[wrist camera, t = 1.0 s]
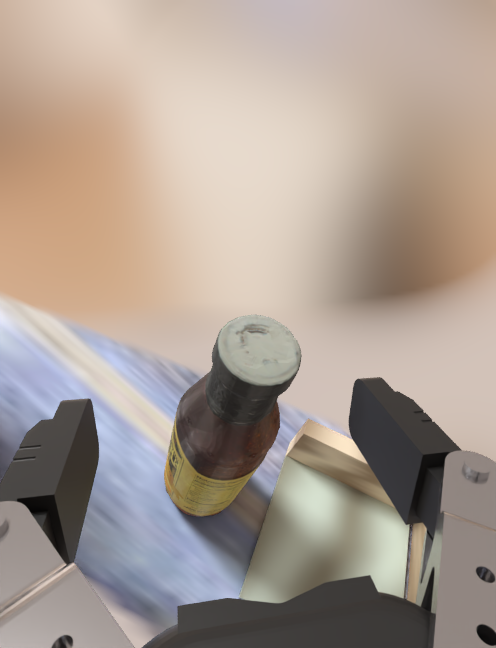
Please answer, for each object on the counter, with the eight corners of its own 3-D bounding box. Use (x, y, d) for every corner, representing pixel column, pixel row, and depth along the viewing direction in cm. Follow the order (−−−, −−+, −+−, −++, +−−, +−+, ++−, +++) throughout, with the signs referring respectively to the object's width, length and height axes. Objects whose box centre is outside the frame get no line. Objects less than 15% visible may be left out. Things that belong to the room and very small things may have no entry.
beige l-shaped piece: (238, 597, 29) (256, 587, 25) (291, 438, 38) (309, 413, 34) (421, 691, 28) (467, 695, 24) (430, 505, 37) (464, 487, 33)
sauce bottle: (183, 434, 35) (228, 270, 21) (247, 464, 35) (338, 319, 20) (145, 504, 31) (168, 360, 16) (218, 540, 31) (308, 425, 16)
